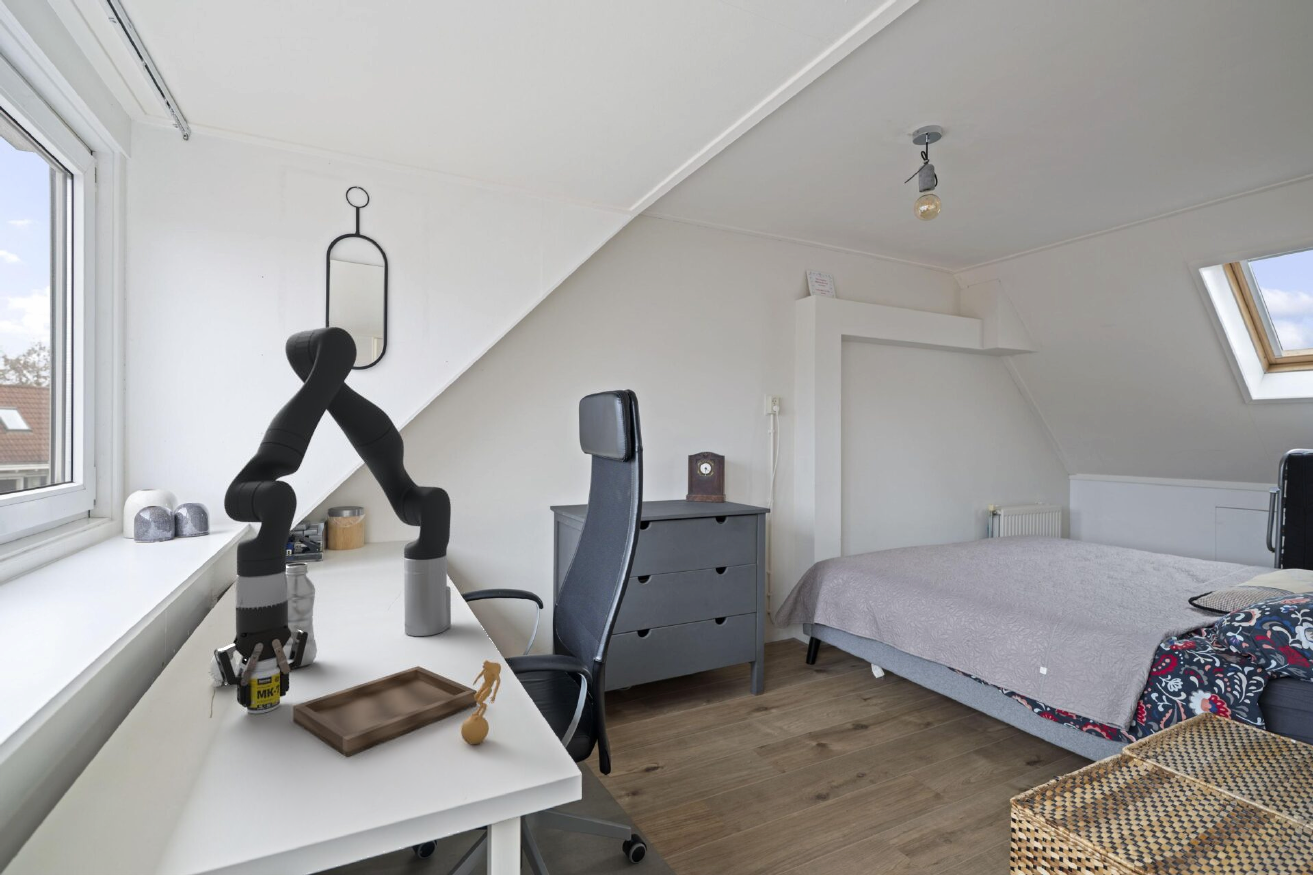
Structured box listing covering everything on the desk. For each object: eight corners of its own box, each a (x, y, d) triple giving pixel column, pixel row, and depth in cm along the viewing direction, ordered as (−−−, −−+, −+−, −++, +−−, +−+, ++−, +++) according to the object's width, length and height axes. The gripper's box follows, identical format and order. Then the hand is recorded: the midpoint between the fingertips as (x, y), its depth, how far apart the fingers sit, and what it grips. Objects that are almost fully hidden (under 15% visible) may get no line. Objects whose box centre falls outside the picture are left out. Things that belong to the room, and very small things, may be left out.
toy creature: (205, 692, 116) (205, 657, 116) (214, 676, 123) (214, 643, 123) (235, 687, 118) (235, 653, 118) (243, 672, 125) (242, 640, 125)
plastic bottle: (301, 672, 125) (299, 568, 124) (270, 670, 126) (269, 567, 126) (324, 660, 131) (323, 561, 131) (295, 658, 132) (294, 560, 132)
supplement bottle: (256, 716, 106) (255, 665, 106) (241, 710, 108) (240, 660, 108) (286, 706, 110) (285, 656, 110) (271, 699, 113) (270, 651, 112)
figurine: (453, 735, 100) (452, 657, 99) (491, 725, 103) (491, 649, 103) (470, 758, 93) (470, 674, 92) (511, 746, 96) (510, 665, 96)
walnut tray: (418, 679, 121) (418, 665, 121) (476, 705, 110) (476, 690, 110) (293, 721, 104) (292, 705, 104) (347, 757, 93) (346, 739, 93)
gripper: (297, 587, 117) (299, 681, 117) (204, 604, 106) (206, 708, 106) (316, 594, 112) (317, 692, 112) (221, 613, 101) (222, 722, 101)
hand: (263, 699), depth 109 cm, fingers closed on supplement bottle, 4 cm apart
